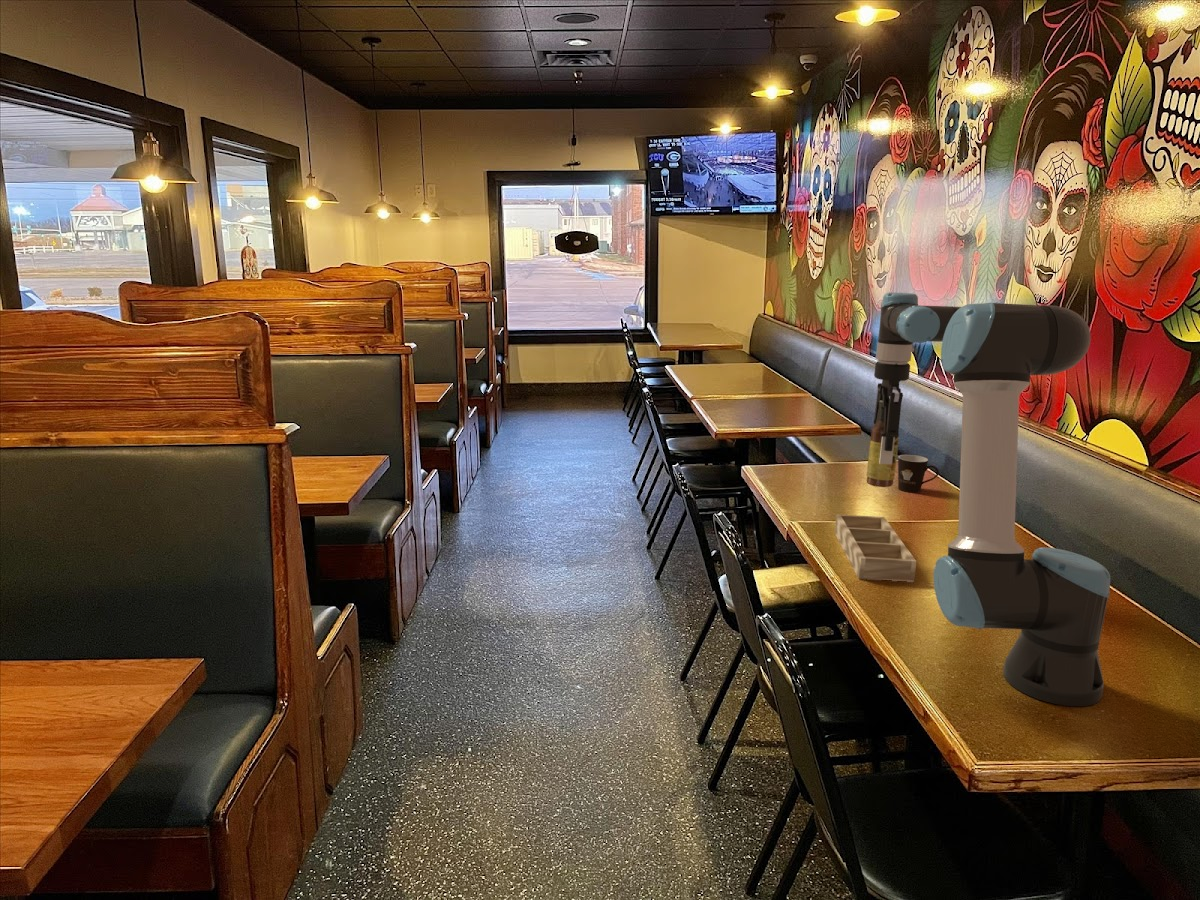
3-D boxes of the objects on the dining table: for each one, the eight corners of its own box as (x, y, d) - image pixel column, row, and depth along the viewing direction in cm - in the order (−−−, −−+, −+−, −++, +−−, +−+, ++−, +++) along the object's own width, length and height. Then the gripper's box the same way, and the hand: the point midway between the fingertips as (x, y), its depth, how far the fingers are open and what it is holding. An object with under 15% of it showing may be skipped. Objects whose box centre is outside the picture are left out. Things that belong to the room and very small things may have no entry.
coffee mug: (888, 487, 260) (892, 456, 258) (909, 484, 264) (913, 453, 261) (916, 497, 250) (920, 465, 248) (938, 494, 254) (942, 463, 251)
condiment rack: (913, 582, 187) (916, 561, 185) (858, 579, 188) (861, 558, 186) (881, 535, 217) (884, 517, 215) (834, 532, 218) (836, 514, 216)
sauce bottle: (895, 489, 194) (905, 405, 189) (866, 487, 195) (876, 403, 190) (891, 481, 200) (901, 399, 195) (864, 479, 201) (873, 398, 196)
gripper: (921, 368, 181) (909, 471, 187) (899, 356, 200) (888, 451, 205) (886, 367, 182) (874, 469, 187) (867, 355, 200) (857, 449, 206)
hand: (882, 459), depth 196 cm, fingers closed on sauce bottle, 6 cm apart
